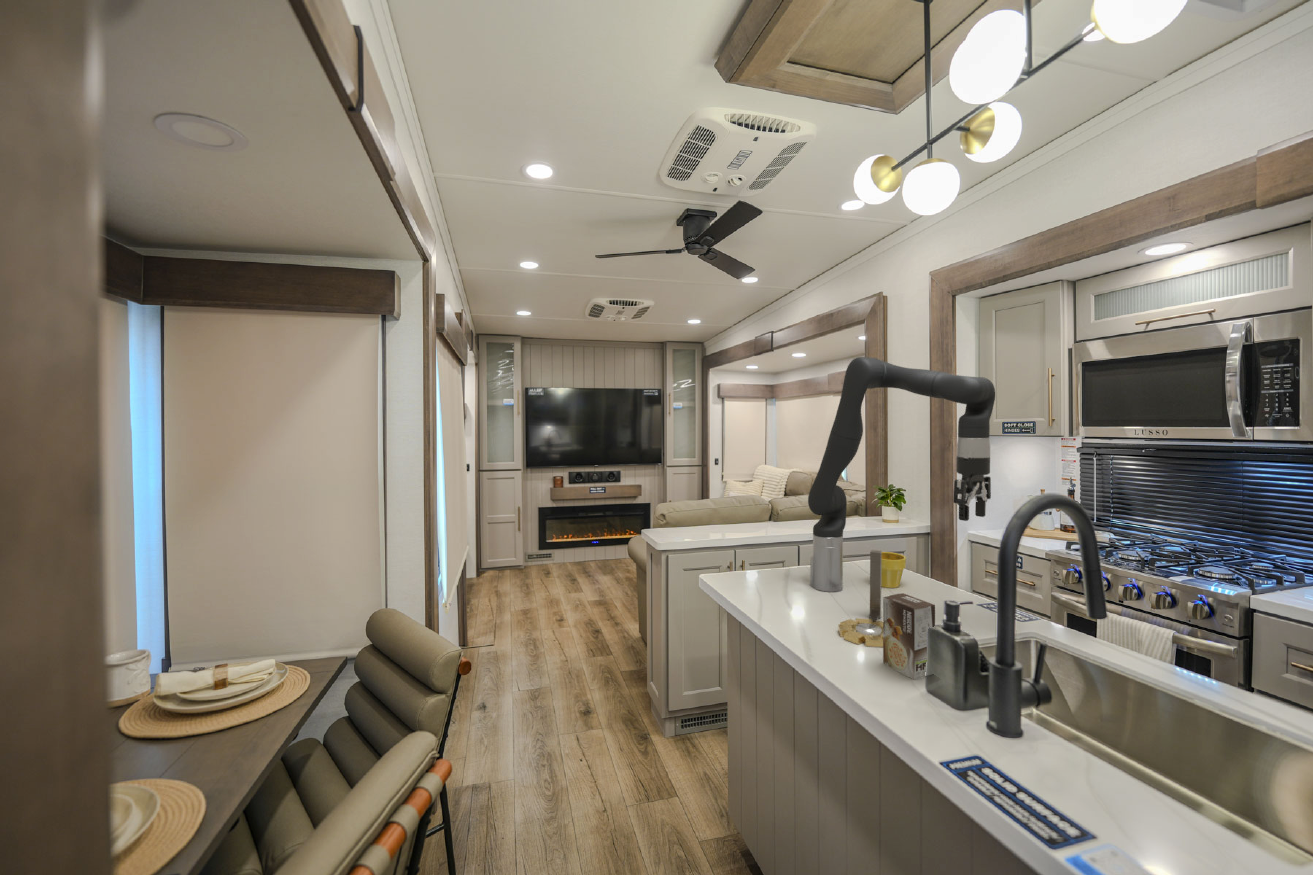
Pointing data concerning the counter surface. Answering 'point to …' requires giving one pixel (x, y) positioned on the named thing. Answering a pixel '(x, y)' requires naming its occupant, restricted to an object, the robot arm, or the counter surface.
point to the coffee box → (906, 633)
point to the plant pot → (892, 569)
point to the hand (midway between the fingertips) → (972, 518)
